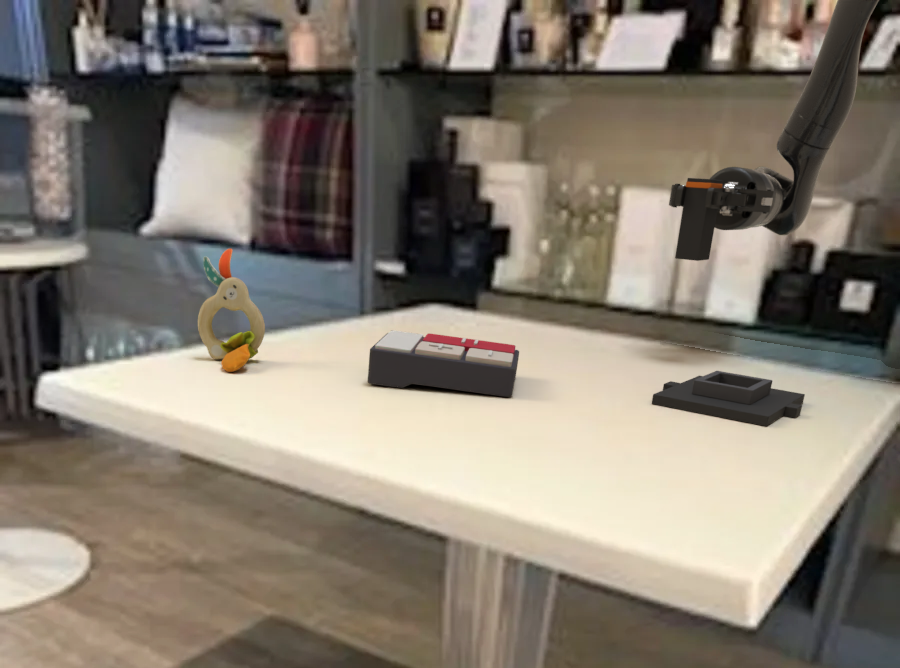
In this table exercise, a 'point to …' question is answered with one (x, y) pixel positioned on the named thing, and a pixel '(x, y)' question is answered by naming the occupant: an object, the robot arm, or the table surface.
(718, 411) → the base pad
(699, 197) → the dark grey block
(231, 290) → the rattle
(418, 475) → the table surface
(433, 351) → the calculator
